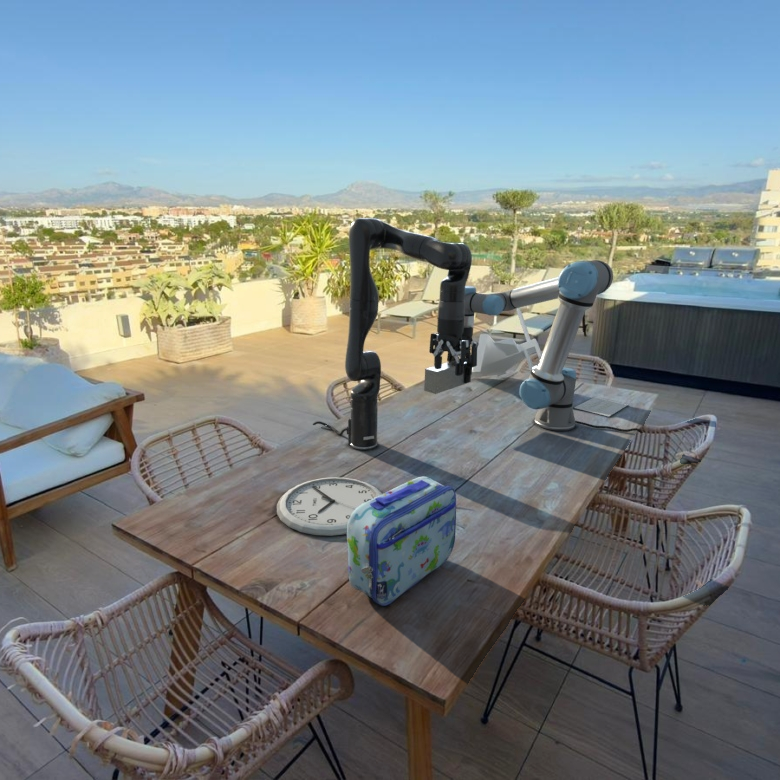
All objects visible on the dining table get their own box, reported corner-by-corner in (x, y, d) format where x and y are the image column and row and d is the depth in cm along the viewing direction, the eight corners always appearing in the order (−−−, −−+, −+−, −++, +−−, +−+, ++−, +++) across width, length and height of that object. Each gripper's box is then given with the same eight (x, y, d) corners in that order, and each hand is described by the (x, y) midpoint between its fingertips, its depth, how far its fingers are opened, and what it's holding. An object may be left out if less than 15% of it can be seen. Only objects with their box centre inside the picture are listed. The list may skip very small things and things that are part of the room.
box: (459, 379, 221) (460, 358, 218) (470, 382, 217) (472, 361, 215) (424, 390, 205) (425, 368, 202) (435, 394, 201) (436, 371, 198)
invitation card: (608, 416, 214) (573, 407, 224) (608, 416, 214) (573, 408, 224) (628, 404, 229) (594, 396, 238) (628, 405, 229) (594, 397, 238)
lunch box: (376, 619, 101) (377, 524, 95) (340, 592, 109) (339, 502, 102) (459, 562, 119) (465, 479, 113) (424, 542, 126) (427, 463, 120)
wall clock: (392, 527, 129) (268, 531, 127) (391, 533, 130) (269, 537, 127) (383, 473, 158) (282, 475, 155) (383, 478, 158) (282, 480, 156)
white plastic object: (486, 419, 265) (465, 396, 240) (467, 347, 287) (447, 319, 262) (557, 395, 253) (543, 369, 228) (532, 321, 275) (517, 290, 250)
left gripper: (424, 314, 150) (422, 368, 155) (459, 321, 140) (456, 379, 145) (443, 312, 155) (440, 365, 160) (479, 319, 144) (475, 375, 149)
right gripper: (439, 323, 213) (437, 377, 220) (478, 330, 201) (474, 387, 208) (450, 321, 219) (447, 374, 226) (489, 327, 206) (484, 383, 213)
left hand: (448, 372), depth 152 cm, fingers open, 8 cm apart
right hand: (460, 380), depth 217 cm, fingers closed on box, 6 cm apart
